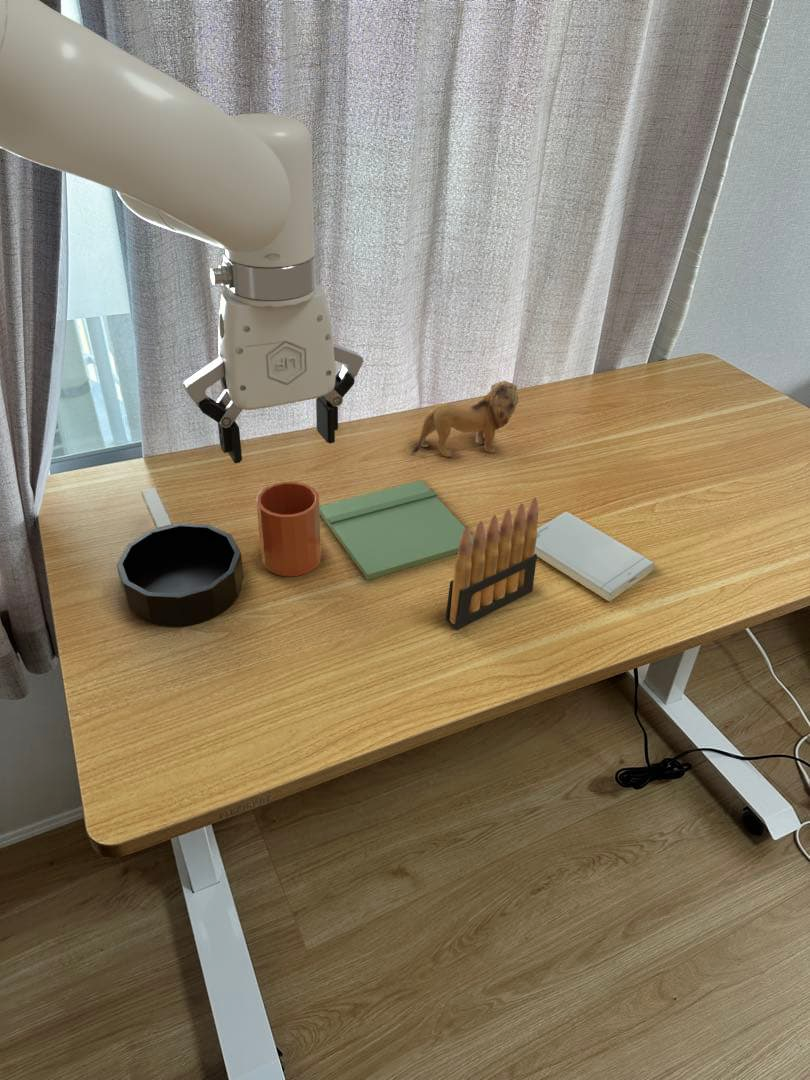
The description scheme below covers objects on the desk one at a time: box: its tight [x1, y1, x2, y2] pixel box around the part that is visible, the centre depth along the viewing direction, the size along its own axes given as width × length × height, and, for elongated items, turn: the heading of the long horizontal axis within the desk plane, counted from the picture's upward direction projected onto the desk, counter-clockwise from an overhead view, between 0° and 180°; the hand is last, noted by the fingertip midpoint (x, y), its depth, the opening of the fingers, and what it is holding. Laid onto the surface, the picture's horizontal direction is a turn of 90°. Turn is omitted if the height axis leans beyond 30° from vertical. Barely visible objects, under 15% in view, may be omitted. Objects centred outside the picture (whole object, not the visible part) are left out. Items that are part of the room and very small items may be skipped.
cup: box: [256, 481, 322, 577], centre depth 87 cm, size 6×6×8 cm
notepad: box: [320, 479, 474, 581], centre depth 94 cm, size 14×14×1 cm
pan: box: [116, 486, 245, 628], centre depth 87 cm, size 12×20×4 cm, turn 27°
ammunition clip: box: [444, 497, 539, 630], centre depth 81 cm, size 11×2×12 cm, turn 127°
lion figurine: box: [411, 380, 519, 458], centre depth 107 cm, size 15×5×9 cm, turn 110°
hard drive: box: [534, 511, 656, 602], centre depth 91 cm, size 2×8×12 cm
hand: (280, 446), depth 80 cm, fingers open, 9 cm apart
